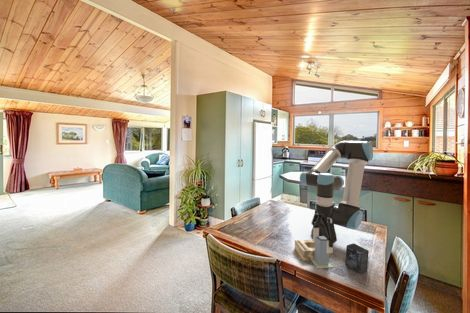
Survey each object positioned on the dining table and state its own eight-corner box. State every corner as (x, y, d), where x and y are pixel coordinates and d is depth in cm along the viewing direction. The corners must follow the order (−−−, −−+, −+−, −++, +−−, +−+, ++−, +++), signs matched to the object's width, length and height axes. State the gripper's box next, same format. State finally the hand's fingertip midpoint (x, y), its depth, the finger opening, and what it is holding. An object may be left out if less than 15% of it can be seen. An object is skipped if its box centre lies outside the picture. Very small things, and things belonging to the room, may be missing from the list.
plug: (323, 259, 113) (324, 235, 112) (328, 265, 108) (329, 239, 107) (314, 260, 113) (315, 235, 112) (318, 265, 108) (320, 240, 107)
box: (345, 265, 109) (346, 245, 108) (352, 262, 111) (354, 242, 110) (359, 274, 102) (361, 252, 101) (367, 271, 104) (369, 250, 103)
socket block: (317, 247, 126) (318, 238, 126) (328, 259, 114) (329, 249, 114) (294, 248, 125) (294, 239, 124) (303, 260, 113) (303, 250, 113)
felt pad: (324, 258, 115) (324, 257, 115) (333, 267, 107) (333, 266, 107) (310, 259, 114) (310, 258, 114) (317, 268, 106) (317, 267, 106)
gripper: (306, 198, 120) (304, 235, 122) (330, 213, 95) (328, 259, 97) (319, 197, 121) (317, 234, 122) (346, 212, 96) (344, 259, 98)
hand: (322, 246), depth 110 cm, fingers open, 13 cm apart
